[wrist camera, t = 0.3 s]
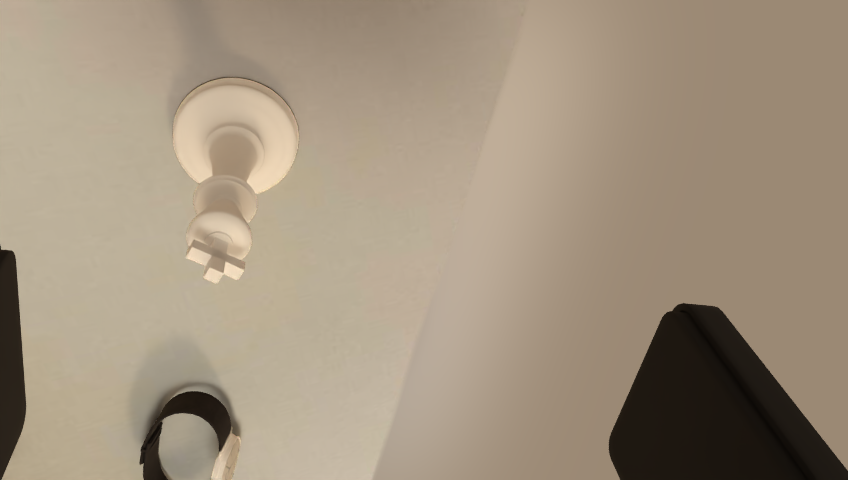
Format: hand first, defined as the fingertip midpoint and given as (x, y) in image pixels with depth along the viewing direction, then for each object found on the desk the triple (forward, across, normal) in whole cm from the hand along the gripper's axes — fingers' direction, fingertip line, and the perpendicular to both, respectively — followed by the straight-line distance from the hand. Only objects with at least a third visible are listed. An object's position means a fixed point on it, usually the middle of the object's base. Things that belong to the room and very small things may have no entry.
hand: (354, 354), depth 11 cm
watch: (+21, +3, +23) cm, 31 cm away
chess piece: (+21, +3, +6) cm, 22 cm away
